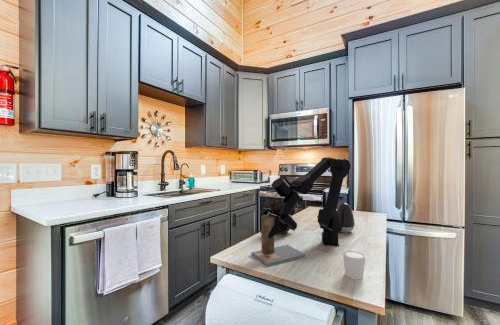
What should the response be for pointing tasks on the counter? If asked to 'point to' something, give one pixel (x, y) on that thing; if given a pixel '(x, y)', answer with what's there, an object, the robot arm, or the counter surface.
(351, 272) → the white cup
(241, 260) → the counter surface
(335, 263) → the counter surface
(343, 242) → the counter surface
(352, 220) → the dark grey tapered dome
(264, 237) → the walnut roller
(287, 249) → the slate board
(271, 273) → the counter surface
